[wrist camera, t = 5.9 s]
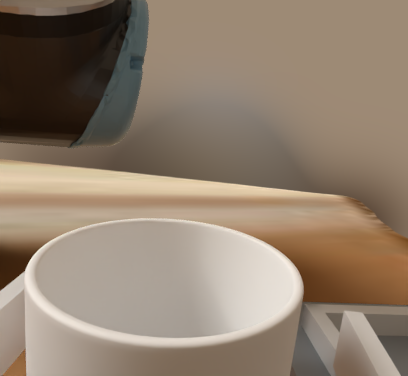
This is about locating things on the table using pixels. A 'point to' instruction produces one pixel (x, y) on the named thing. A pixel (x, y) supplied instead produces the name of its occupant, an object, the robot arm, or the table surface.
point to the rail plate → (330, 328)
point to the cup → (160, 302)
